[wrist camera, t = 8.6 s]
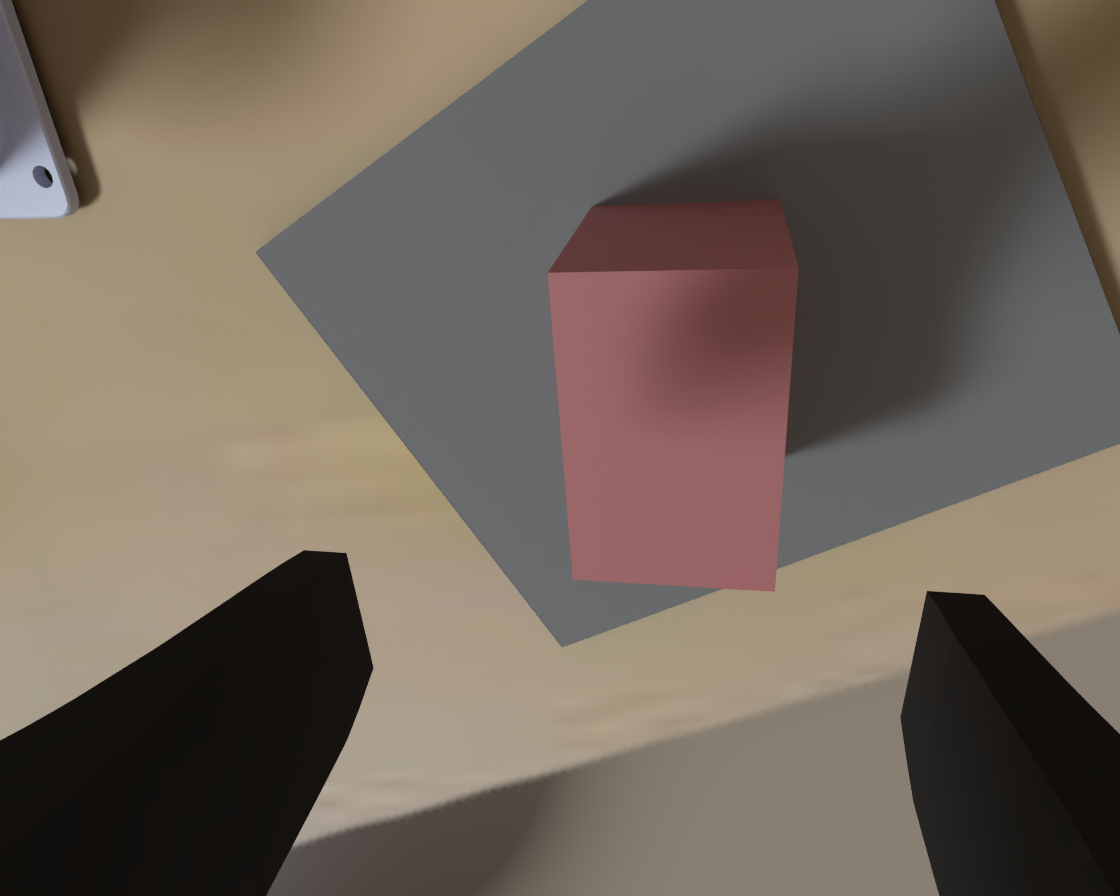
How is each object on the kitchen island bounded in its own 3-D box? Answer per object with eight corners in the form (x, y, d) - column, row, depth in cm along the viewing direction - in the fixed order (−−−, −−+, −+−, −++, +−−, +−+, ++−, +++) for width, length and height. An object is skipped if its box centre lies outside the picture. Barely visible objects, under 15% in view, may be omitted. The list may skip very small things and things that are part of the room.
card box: (605, 458, 20) (572, 579, 16) (591, 206, 17) (547, 272, 13) (764, 463, 20) (774, 591, 15) (780, 199, 17) (798, 268, 12)
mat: (564, 638, 24) (561, 647, 24) (263, 247, 20) (255, 252, 19) (1147, 422, 18) (1155, 430, 17) (900, -233, 13) (904, -239, 13)
